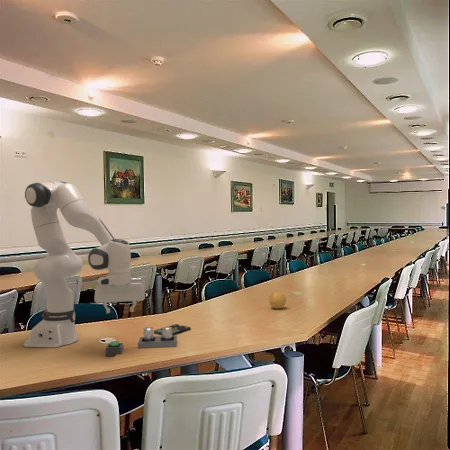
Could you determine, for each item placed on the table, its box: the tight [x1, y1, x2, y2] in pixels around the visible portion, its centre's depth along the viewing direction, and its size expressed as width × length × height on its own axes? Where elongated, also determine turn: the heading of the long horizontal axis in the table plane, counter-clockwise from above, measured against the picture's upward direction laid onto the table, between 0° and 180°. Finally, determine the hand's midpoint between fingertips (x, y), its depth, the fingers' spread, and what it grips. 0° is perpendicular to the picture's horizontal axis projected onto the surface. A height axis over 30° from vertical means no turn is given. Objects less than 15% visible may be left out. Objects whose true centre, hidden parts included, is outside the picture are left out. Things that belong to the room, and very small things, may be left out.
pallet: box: [137, 334, 178, 349], centre depth 186 cm, size 16×9×3 cm, turn 95°
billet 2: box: [162, 325, 172, 341], centre depth 186 cm, size 4×4×7 cm
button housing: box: [105, 342, 124, 358], centre depth 176 cm, size 6×6×4 cm
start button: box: [109, 340, 120, 347], centre depth 176 cm, size 4×4×1 cm
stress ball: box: [268, 291, 287, 310], centre depth 253 cm, size 10×10×10 cm
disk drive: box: [153, 323, 191, 336], centre depth 205 cm, size 10×3×15 cm
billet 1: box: [143, 326, 154, 342], centre depth 185 cm, size 4×4×7 cm
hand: (120, 312), depth 178 cm, fingers open, 8 cm apart
